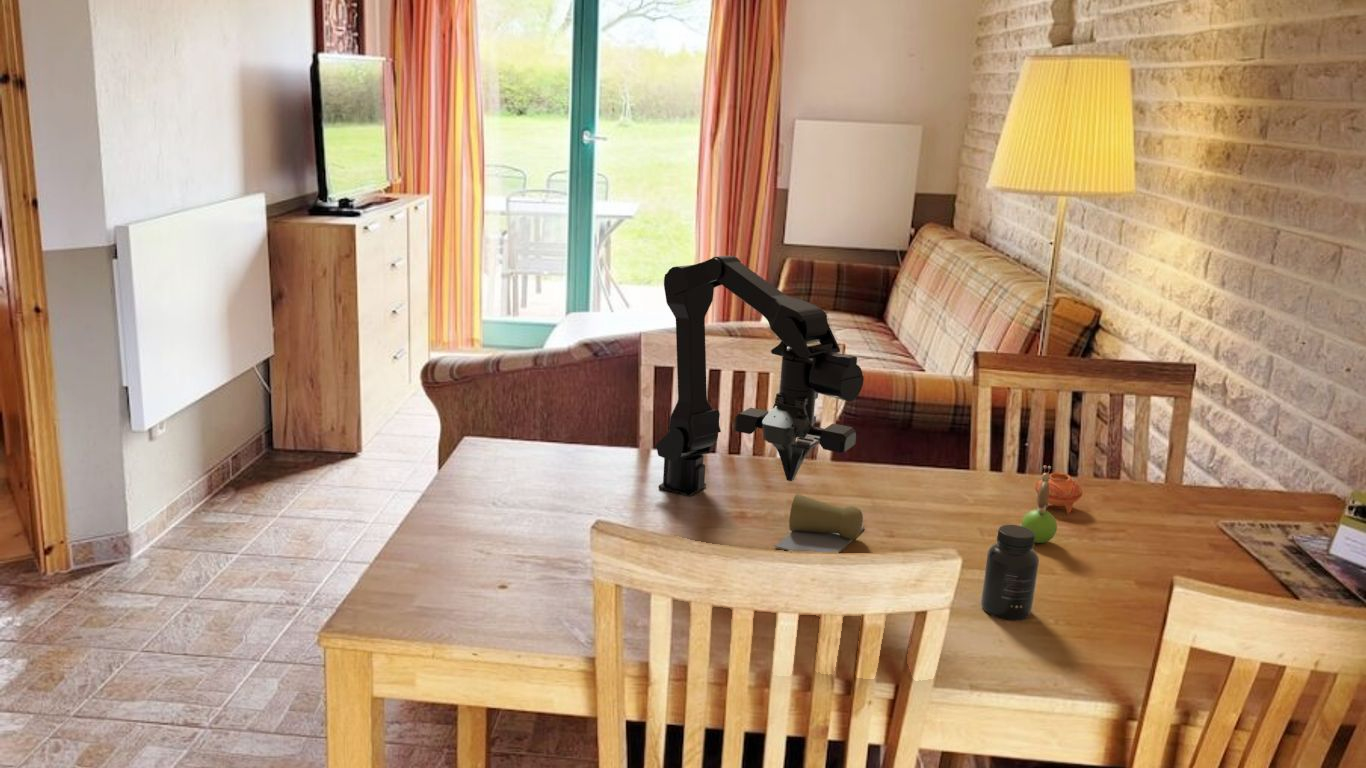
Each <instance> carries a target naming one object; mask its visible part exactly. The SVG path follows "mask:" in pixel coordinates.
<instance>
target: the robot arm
mask: <svg viewBox="0 0 1366 768" xmlns="http://www.w3.org/2000/svg"><path fill="white" fill-rule="evenodd" d="M719 286H723V287H724V288H725V289H726V290H728V291H730V292H731V293H732V294H733V295H734V296H736V297H737V298H739V299H740V300H741V301H742V302H743V303H745V304H747V305H748V306H750V307H751V308H752V309H754V310H755V311H757V312H758V313H759V314H760V315H761V316H763V317H764V318H765V319H766V321H767V322H768V325H769V328H770V330H771V332H773V334H774V335H775V336H777V338H778V339H779V340H780V343H779V344H778V345H776V346H775V347H774V348H772V349H771V350H770V352H771V354H772V355H775V356H778V357H781V367H780V369H781V370H780V381H779V391H778V393H776V394H775V399H774V404H773V406H772V408H770V409H769V410H765V409H760V408H755V407H749V408H747V409H745V410H743V411H741V412H739V413H738V414H737V415H736V416H735V419H734V423H733V425H734V427H733V431H735V432H738V433H742V434H748V435H752V434H753V433H754V432H756V431H757V428H758V429H762V438H763V440H764V441H765V442H767V443H769V444H772V445H773V447H774V448H775V449H776V450H777V453H778V455H779V459H780V461H781V465H782V469H783V472H784V475H785V478H786V481H788V482H793V481H794V480H795V478H796V476H797V474H798V472H799V471H800V468H801V467H802V464H803V462H804V460H805V458H806V457H807V455H808V454H809V452H810V451H811V450H812V449H813V448H814V447H817V446H818V445H820V446H821V448H822V449H823V450H824V451H825V450H826V451H830V452H835V453H845V452H847V451H848V450H849V449H851V448H852V447H854V446H855V444H856V439H857V433H856V430H855V429H854V428H853V426H847V425H841V424H838V423H831V424H830V425H828V426H827V427H825V428H824V427H823V428H822V427H818V426H814V424H816V422H817V416H815V408H816V400H817V399H818V398H819V394H820V395H823V396H827V397H830V398H834V399H838V400H841V401H844V402H852V401H854V400H855V399H856V398H857V397H858V396H859V394H860V393H861V391H862V390H863V389H862V388H863V387H864V380H865V376H864V375H863V371H862V368H861V366H860V365H858V364H857V362H858V356H856V355H851V354H849V355H848V354H841V353H840V352H841V348H840V346H839V344H838V342H837V339H836V337H835V335H834V333H833V332H832V328H831V326H830V324H829V323H828V315H827V313H826V312H825V311H824V310H823V308H821V307H819V306H817V305H815V304H813V303H810V302H808V301H807V300H806V301H805V300H803V299H800V298H795V297H792V296H789V295H786V294H785V293H784V292H782V291H781V290H780V289H778V288H777V287H775V286H774V285H772V284H771V283H769V281H767V280H766V279H764V278H763V277H762V276H760V275H759V274H757V273H756V272H754V270H751V268H749V267H747V266H746V265H744V263H742V262H741V261H740V258H738V257H736V256H734V255H719V256H718V255H717V256H712V258H710V259H708V260H705V261H702V262H699V263H695V264H689V265H688V264H687V265H678V266H673V267H671V268H670V269H669V270H668V271H667V273H665V274H664V278H663V288H664V294H665V302H666V305H667V306H668V307H669V309H670V311H671V313H672V314H673V316H674V319H675V334H676V337H675V339H676V341H675V342H676V369H677V371H676V372H677V395H678V396H677V402H676V404H675V406H674V408H673V410H672V413H671V414H670V417H669V426H668V427H669V428H668V433H666V435H664V436H663V437H662V438H661V439H660V440H659V441H658V442H656V445H655V447H656V451H657V456H658V457H661V458H663V475H662V476H663V478H662V479H663V480H662V483H660V484H659V485H658V489H660V490H664V491H667V492H673V493H676V494H680V495H684V496H692V495H694V494H695V493H698V492H699V491H700V490H702V489H703V488H704V487H707V483H706V482H705V480H706V479H705V478H706V465H705V464H704V455H707V454H710V453H711V452H712V448H713V445H714V444H715V443H716V442H717V441H718V437H719V433H721V431H722V430H721V427H720V416H721V414H720V410H719V409H714V408H713V407H712V406H711V404H710V402H709V400H708V395H707V394H708V393H707V359H706V358H707V357H706V356H707V354H706V353H707V352H706V319H705V318H706V315H707V313H708V311H709V309H710V307H711V305H712V303H713V301H714V299H713V298H714V292H715V288H717V287H719ZM815 343H818V344H815ZM810 344H814V345H810ZM809 345H810V346H809Z"/></svg>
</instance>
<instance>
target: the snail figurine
mask: <svg viewBox="0 0 1366 768" xmlns="http://www.w3.org/2000/svg"><path fill="white" fill-rule="evenodd" d="M1042 467H1043V470H1044V472H1043V473H1042V475H1041V479H1042V482H1041V485H1040V487H1039V490H1038V493H1037V497H1036V498H1037V499H1036V502H1037V508H1035V509H1032V510H1030V511H1028V512H1027V513H1026V514H1025V515H1024V516H1023V518H1022V521H1021V526H1023V527H1026V528H1028V529H1030V530H1032V531H1033V532H1034V534H1035V537H1034V543H1037V544H1042V543H1046V542H1048V541H1049V542H1050V540H1052V539H1053V538H1054V537H1055V535H1056V533H1057V530H1058V524H1057V521H1056V518H1055V516H1054V515H1052V513H1051V512H1049V511H1048V510H1047V507H1048V505H1049V503H1048V497H1049V479H1050V470H1051V469H1052V466H1051V465H1048V466H1047V465H1043V466H1042ZM1046 469H1047V470H1048V472H1046Z"/></svg>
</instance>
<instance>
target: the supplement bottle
mask: <svg viewBox="0 0 1366 768" xmlns="http://www.w3.org/2000/svg"><path fill="white" fill-rule="evenodd" d="M1034 537H1035V534H1034V532H1033V531H1032V530H1030V529H1028V528H1026V527H1023V526H1022V525H1017V524H1004V525H1001V526H999V528H998V530H997V537H996V543H994V544H992V545H991V546H990V547H989V548H988V550H987V555H986V556H987V557H986V563H985V570H984V578H983V586H982V594H981V602H980V603H981V607H982V608H983V610H984V612H986V613H987V614H989V615H990V616H993V617H994V618H998V619H1002V620H1006V621H1022V620H1025V619H1026V618H1029V616H1030V615H1031V613H1032V609H1033V604H1034V597H1035V590H1036V583H1037V576H1038V570H1039V563H1040V562H1039V561H1040V558H1039V556H1038V553H1037V552H1036V551H1035V549H1033V548H1034V547H1035V542H1034Z"/></svg>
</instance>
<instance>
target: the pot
mask: <svg viewBox="0 0 1366 768" xmlns="http://www.w3.org/2000/svg"><path fill="white" fill-rule="evenodd" d="M1049 475H1050V479H1049V497H1048V505H1049V504H1050V505H1052V506H1058V507H1059V506H1060V507H1065V510H1066V514H1070V513H1071V511H1072V509H1073V505H1074V503H1076V502H1077V501H1078V500H1079V499H1080V498H1082V496H1083V490H1082V488H1081V486H1080V484H1079V483H1078V482H1076V481H1075V480H1074V479H1073V478H1072V476H1071V475H1070V474H1067V473H1064V472H1058V471H1057V472H1051V473H1049ZM1041 482H1042V478H1041V479H1040V480H1039V481H1038V482H1037V483H1036V484H1035V487H1034V489H1035V491H1036V493H1037V494H1038V490H1039V487H1040V485H1041Z"/></svg>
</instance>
